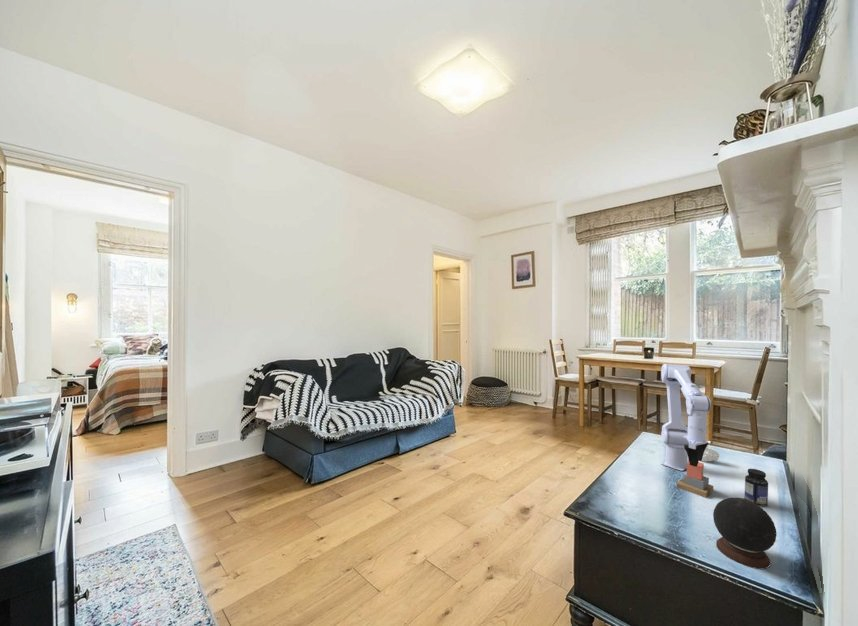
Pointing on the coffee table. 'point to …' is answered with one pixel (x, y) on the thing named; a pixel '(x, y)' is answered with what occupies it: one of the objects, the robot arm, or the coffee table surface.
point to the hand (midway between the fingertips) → (695, 462)
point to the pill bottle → (756, 487)
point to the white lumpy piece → (710, 454)
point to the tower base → (695, 489)
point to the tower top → (697, 482)
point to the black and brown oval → (744, 531)
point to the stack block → (695, 471)
